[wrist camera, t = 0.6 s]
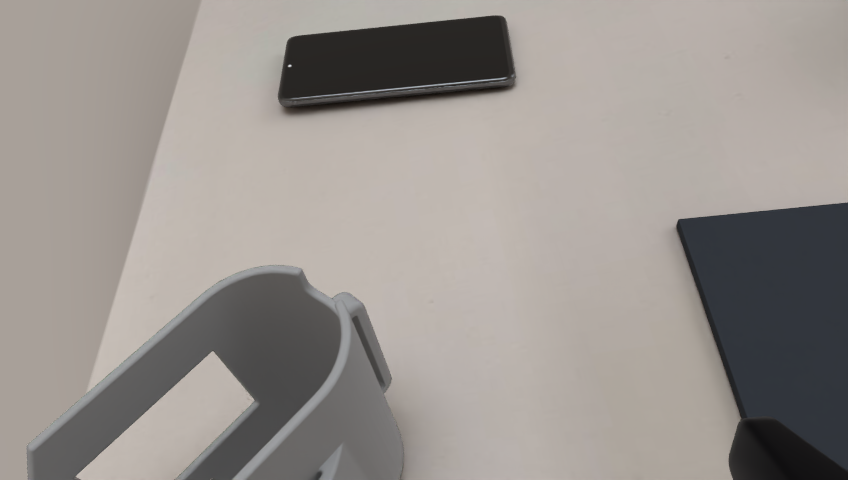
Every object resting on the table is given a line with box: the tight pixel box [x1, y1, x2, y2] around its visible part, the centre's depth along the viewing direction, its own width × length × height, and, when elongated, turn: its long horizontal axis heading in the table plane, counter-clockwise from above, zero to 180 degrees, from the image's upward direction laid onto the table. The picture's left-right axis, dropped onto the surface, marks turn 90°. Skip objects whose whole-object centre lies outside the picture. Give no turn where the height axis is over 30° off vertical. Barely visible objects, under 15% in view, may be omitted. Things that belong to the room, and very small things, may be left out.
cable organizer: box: [27, 265, 404, 480], centre depth 23 cm, size 7×12×12 cm, turn 139°
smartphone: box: [278, 16, 516, 107], centre depth 45 cm, size 7×1×16 cm
